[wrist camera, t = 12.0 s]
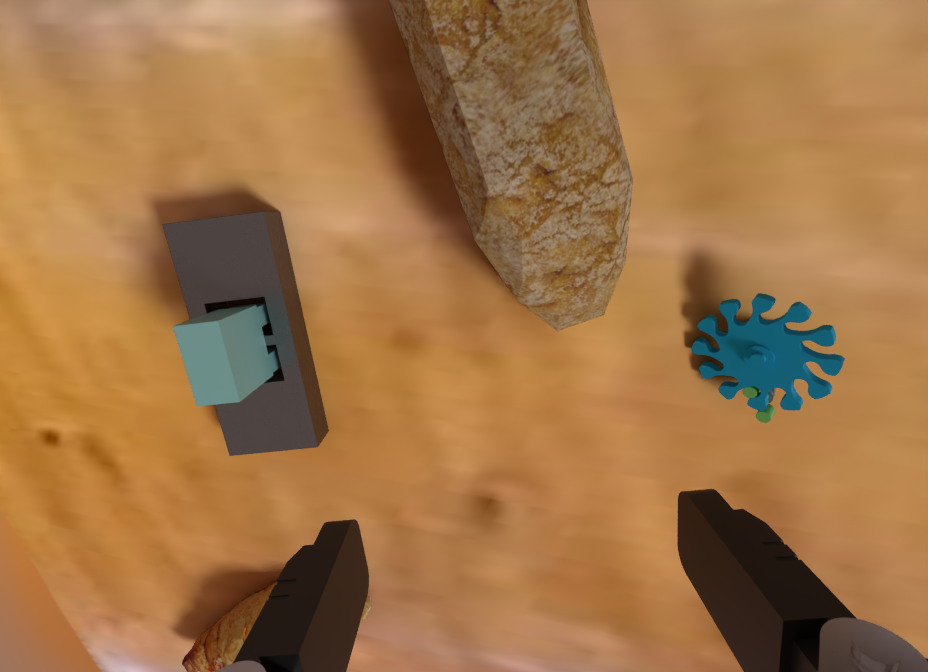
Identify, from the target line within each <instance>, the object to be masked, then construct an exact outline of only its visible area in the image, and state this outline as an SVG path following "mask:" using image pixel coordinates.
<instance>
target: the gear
mask: <svg viewBox="0 0 928 672" xmlns="http://www.w3.org/2000/svg"><path fill="white" fill-rule="evenodd" d="M774 303H775V298H774V297H772V296H769V295H766V294H761V293H759V294H757V295H756V297H755V298H754V299H753V301H752V307H753V313H752V316H751V318H750V319H749V320H748V321H747V322H741V321H739V320H737V318H736V313H737V311H738V310H739V309H740V307H741V304H740V301H739V300H737V299H731V300H726V301H723V302H722V303H721V304H720V305H719V310H720V312H721V313H722V314H723V315H724V317H725V318H726V320H727V323H728V332H721V331H720V330H719V329H718V327H717V319H716V317H715V316H713V315H708V316H706V317H705V318H704V319H702V320H701V321H700V323H699V324H698V325H697V326H698V328H699V329H700V330H701V331H703V332H706V333H707V334H709V335H711V336H712V337H713V338H714V339H715V340H716V342H717V343H718V345H719V346H720V348H719V349H716V348H713V347H712V346H711V345H710V343H709V342H708V341H707V340H706V339H705V338H703V337H699V338H698V339H697V340H696V341H695V342H694V344H693V346H692V352H693V353H694V354H697V355H707V356H711V357H713V358H715V359H717V360H719V361H720V362H722V364H723V365H724V366H723V367H720V366H717V365H715V364H714V363H712V362H710V361H705V362H703V363H702V364H701V365H700V368H699V369H700V373H701V376H702V378H705V379H709V378H712V377H714V376H718V375H726V376H732V377H734V378H736V379H737V380H738V382H730V381H725V382H723V383H722V384H721V386H720V387H719V389H718V390H719V392H720V393H721V394H722V395H723V396H724V397H725V398H726V399H732V398H733V397H734V396H735V395H736V393H737V392H738V391H739V390H741V389H743V388H744V389H743V394H744V395H745V396H746V397H748V398H749V400H748V403H747V404H748V405H749V406H750V407H752V408H754V409H756V410H758V412H757V414H756V418H757V419H758V420H759V421H761V422H764V423H767V422H769V421H770V420H771V418H772V416H773V414H774V412H775V409H774V407H773V406H772V405H770V404H768V403H770V402H771V401H772V400H773V398H774V396H775V389H776V388H781V389H783V390H784V391H785V392H786V394H785V395H784V396H783V398H782V400H781V403H780V405H781V407H782V409H785V410H800V408H801V406H802V404H803V400H802V398H801V397H800V396H799V395H798V393H797V392H796V390H795V388H794V380H795V379H803V380H805V381H806V382H807V383H808V393H809V395H810V396H811V397H812V398H814V399H819V398H822V397H825V396H827V395H828V394H830V393H831V390H832V385H831V384H830V383H829V382H827V381H825V380H823V379H820V378H819V377H817V376H815V375H814V374H813V373H812V372H811V371H810V370H809V368H808V367H807V365H806V362H809V361H811V362H815V363H817V364H818V365H819V366H820V367H821V369H822V370H823V372H825V373H826V374H828V375H832V376H835V375H836V374H838V373H839V371H840V369H841V367H842V365H843V362H844V359H845V358H843V357H842V356H840V355H836V354H822V353H818V352H815V351H813V350H811V349H809V348H807V347H806V346H804V345H803V343H802V341H805V340H810V341H813V342H815V343H817V344H818V345H821V346H832V345H833V344H834V342H835V339H836V334H835V330H834V328H833V326H831V325H823V326H820V327H819V328H816V329H814V330H809V331H796V330H790V329H788V328H787V327H786V325H785V323H787V322H797V323H801V322H805V321H806V320H808V319H809V317H810V315H811V313H812V312H811V311H810V309H809V308H808V307H807V306H806V305H804V304H803V303H801V302H796V303H794V304H792V306H791V307H790V309H789V310H788V312H787V313H786V314H785V315H783V316H782V317H780V318H777V319H774V320H771V321H766V320H764V319H762V317H761V315H760V314H761V313H763V312H766V311H768V310H770V309H771V308H772V306H773V305H774Z"/></svg>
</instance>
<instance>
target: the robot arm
mask: <svg viewBox="0 0 928 672" xmlns="http://www.w3.org/2000/svg"><path fill="white" fill-rule="evenodd" d="M678 552H679V556H680V560H681V563H682V566H683V568H684V571H685V573H686V574H687V576H688V578H689V580H690V581H691V583H692V585H693V586H694V588H695V590H696V591H697V593H698V595H699V596H700V598H701V600H702V602H703V603H704V605H705V607H706V608H707V610H708V612H709V613H710V615H711V617H712V618H713V620H714V622H715V624H716V625H717V627H718V629H719V630H720V632H721V634H722V635H723V637H724V639H725V640H726V642H727V644H728V646H729V647H730V649H731V651H732V652H733V654H734V656H735V657H736V659H737V661H738V662H739V664H740V666H741V668H742V669H743V671H744V672H928V659H926V658H925V657H924V656H923V655H922V654H921V653H920V652H919V651H918V650H917V649H915V648H914V647H913V646H912V645H911V644H909V643H908V642H907V641H905V640H904V639H902V638H901V637H899V636H898V635H896V634H894V633H893V632H891V631H889V630H887V629H885V628H883V627H881V626H878V625H876V624H873V623H870V622H867V621H864V620H860V619H857V618H856V617H855V616H854V615H853V614H852V613H851V612H850V611H849V610H848V609H847V608H846V607H845V606H844V605H843V604H842V603H841V602H840V600H839V599H838V598H837V597H836V596H835V595H834V594H833V593H832V592H831V591H830V590H829V589H828V588H827V587H826V586H825V585H824V584H823V583H822V581H821V580H820V579H819V578H818V577H817V576H816V575H815V574H814V573H813V572H812V571H811V570H810V569H809V568H808V567H807V566H806V565H805V564H804V562H803V561H802V560H798V558H797V555H796V554H795V553H794V552H793V551H792V550H791V549H790V548H789V547H788V546H787V545H784V543H783V540H782V539H781V538H780V537H779V536H778V535H777V534H776V533H775V532H774V531H773V530H772V529H771V528H770V527H769V526H768V525H767V523H765V522H763V521H762V520H760V519H759V518H757V517H755V516H754V515H752V514H750V513H749V512H747V511H745V510H744V509H738V510H733V509H732V508H731V507H730V505H729V504H728V503H727V502H726V501H725V500H724V499H723V497H722V496H721V495H720V494H719V493H718V492H717V491H716V490H714V489H706V490H694V491H683V492H680V493H679V496H678ZM368 587H369V573H368V566H367V561H366V557H365V552H364V547H363V543H362V538H361V533H360V529H359V525H358V522H357V521H356V520H355V519H354V520H343V521H332V522H326V523H324V525H323V526H322V528H321V530H320V532H319V535H318V537H317V539H316V541H315V543H314V545H305V546H303V547H302V548H301V549H300V550H299V551H298V552H297V553H296V554H295V555H294V556H293V557H292V558H291V559H290V560H289V561H288V562H287V563H286V565H285V567H284V569H283V571H282V573H281V575H280V576H279V578H278V580H277V584H276V585H275V586H274V588H273V589H272V591H271V593H270V595H269V600H267V601H266V602H265V604H264V606H263V608H262V610H261V612H260V614H259V615H258V617H257V619H256V621H255V623H254V625H253V627H252V628H251V630H250V632H249V634H248V636H247V638H246V640H245V641H244V643H243V645H242V647H241V649H240V651H239V653H238V654H237V656H236V658H235V660H234V662H233V663H232V664H230V665H227V666H225V667H223V668H222V669H220V670H218V671H217V672H346V670H347V667H348V663H349V660H350V656H351V652H352V649H353V645H354V642H355V638H356V635H357V631H358V627H359V624H360V620H361V617H362V613H363V610H364V606H365V602H366V599H367V594H368Z"/></svg>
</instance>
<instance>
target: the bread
mask: <svg viewBox="0 0 928 672" xmlns="http://www.w3.org/2000/svg"><path fill="white" fill-rule="evenodd" d="M389 2H390V5H391V8H392V11H393V13H394V16H395V19H396V22H397V25H398V27H399V30H400V33H401V36H402V39H403V41H404V44H405V47H406V50H407V53H408V55H409V58H410V61H411V64H412V67H413V69H414V72H415V75H416V78H417V81H418V83H419V86H420V89H421V92H422V95H423V97H424V100H425V103H426V106H427V109H428V111H429V114H430V117H431V120H432V123H433V126H434V128H435V131H436V134H437V137H438V140H439V142H440V145H441V148H442V151H443V154H444V156H445V159H446V162H447V165H448V168H449V170H450V173H451V176H452V179H453V182H454V184H455V187H456V190H457V193H458V196H459V198H460V201H461V204H462V207H463V210H464V212H465V215H466V218H467V221H468V224H469V226H470V229H471V232H472V235H473V238H474V240H475V242H476V243H477V244H478V246H479V247H480V249H481V250H482V251H483V253H484V254H485V256H486V257H487V258H488V260H489V261H490V263H491V264H492V265H493V267H494V268H495V270H496V271H497V272H498V274H499V275H500V277H501V278H502V279H503V281H504V282H505V284H506V285H507V286H508V288H509V289H510V291H511V292H512V293H513V295H514V296H515V298H516V299H517V300H518V301H519V302H521V303H522V304H523V305H524V306H526V307H527V308H528V309H530V310H531V311H532V312H533V313H535V314H536V315H537V316H539V317H540V318H541V319H542V320H544V321H545V322H546V323H548V324H549V325H550V326H551V327H553V328H554V329H555V330H557V331H559V330H562V329H565V328H568V327H570V326H573V325H576V324H579V323H582V322H585V321H588V320H591V319H594V318H597V317H599V316H602V315H604V313H605V311H606V308H607V306H608V303H609V301H610V298H611V296H612V293H613V291H614V288H615V286H616V283H617V281H618V278H619V276H620V273H621V271H622V268H623V266H624V264H625V261H626V250H627V239H628V228H629V217H630V207H631V196H632V185H633V178H632V175H631V171H630V167H629V163H628V159H627V155H626V151H625V147H624V144H623V140H622V136H621V132H620V128H619V124H618V120H617V116H616V113H615V109H614V105H613V101H612V97H611V93H610V89H609V85H608V82H607V78H606V74H605V70H604V66H603V62H602V58H601V54H600V50H599V47H598V43H597V39H596V35H595V31H594V27H593V23H592V19H591V16H590V12H589V8H588V4H587V0H389Z"/></svg>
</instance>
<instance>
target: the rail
mask: <svg viewBox="0 0 928 672" xmlns="http://www.w3.org/2000/svg"><path fill="white" fill-rule="evenodd" d="M163 228H164V231H165V235H166V238H167V242H168V245H169V249H170V252H171V255H172V259H173V262H174V266H175V269H176V273H177V276H178V280H179V283H180V286H181V290H182V293H183V297H184V300H185V304H186V307H187V311H188V314H189V317H190V320H191V319H194V318H196V317H199V316H202V315H205V314H207V313H210V312H213V311H215V310H219V309H227V305H226V301H232V300H240V299H249V298H257V297H265V301H266V305H267V310H268V314H269V318H270V322H271V326H272V328H269V329H262V331H263V335H264V339H265V343H266V346H267V345H276V347H277V351H278V355H279V359H280V363H281V368H282V371H275V372H273V376H272V377H271V378H269V379H268V380H267V381H266V382H264V383H263V384H262V385H261V386H259V387H258V388H257V389H256V390H254V391H253V392H252V393H250V394H249V395H248V396H247V397H245V398H244V399H243V400H242V401H240V402H235V403H225V404H216V405H215V407H216V411H217V414H218V417H219V421H220V424H221V428H222V431H223V435H224V438H225V442H226V445H227V448H228V452H229V455H230V456H233V455H243V454H253V453H263V452H273V451H283V450H293V449H304V448H314V447H318V446H319V445H320V443H321V442H322V440H323V439H324V437H325V436H326V434H327V433H328V431H329V430H328V426H327V421H326V417H325V412H324V408H323V403H322V399H321V394H320V389H319V385H318V380H317V376H316V371H315V367H314V362H313V358H312V353H311V349H310V344H309V340H308V335H307V331H306V326H305V322H304V317H303V312H302V308H301V303H300V299H299V294H298V290H297V285H296V281H295V276H294V272H293V267H292V263H291V258H290V254H289V249H288V245H287V240H286V236H285V231H284V226H283V222H282V217H281V213H280V212H256V213H248V214H241V215H233V216H225V217H217V218H209V219H202V220H194V221H186V222H178V223H170V224H163Z"/></svg>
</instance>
